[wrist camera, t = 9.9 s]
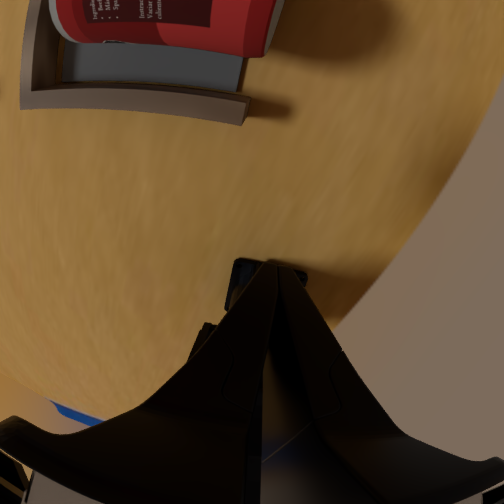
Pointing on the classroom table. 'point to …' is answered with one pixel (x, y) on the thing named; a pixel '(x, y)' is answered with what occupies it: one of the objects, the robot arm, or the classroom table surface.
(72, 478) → the robot arm
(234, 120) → the cradle
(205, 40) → the canned food
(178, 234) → the classroom table surface
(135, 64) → the mat
